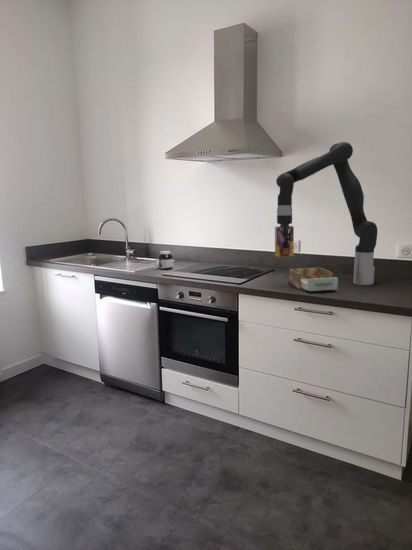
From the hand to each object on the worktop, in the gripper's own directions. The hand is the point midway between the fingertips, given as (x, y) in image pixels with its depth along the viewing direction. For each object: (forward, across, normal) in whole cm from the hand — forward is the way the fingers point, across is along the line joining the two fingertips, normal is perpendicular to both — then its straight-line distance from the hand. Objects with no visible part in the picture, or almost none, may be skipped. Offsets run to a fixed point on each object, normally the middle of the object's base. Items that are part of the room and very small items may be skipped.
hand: (284, 247), depth 211 cm
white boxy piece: (+20, -10, -14) cm, 26 cm away
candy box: (+5, 0, 0) cm, 5 cm away
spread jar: (+20, +65, +59) cm, 90 cm away
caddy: (+21, 0, -14) cm, 25 cm away
